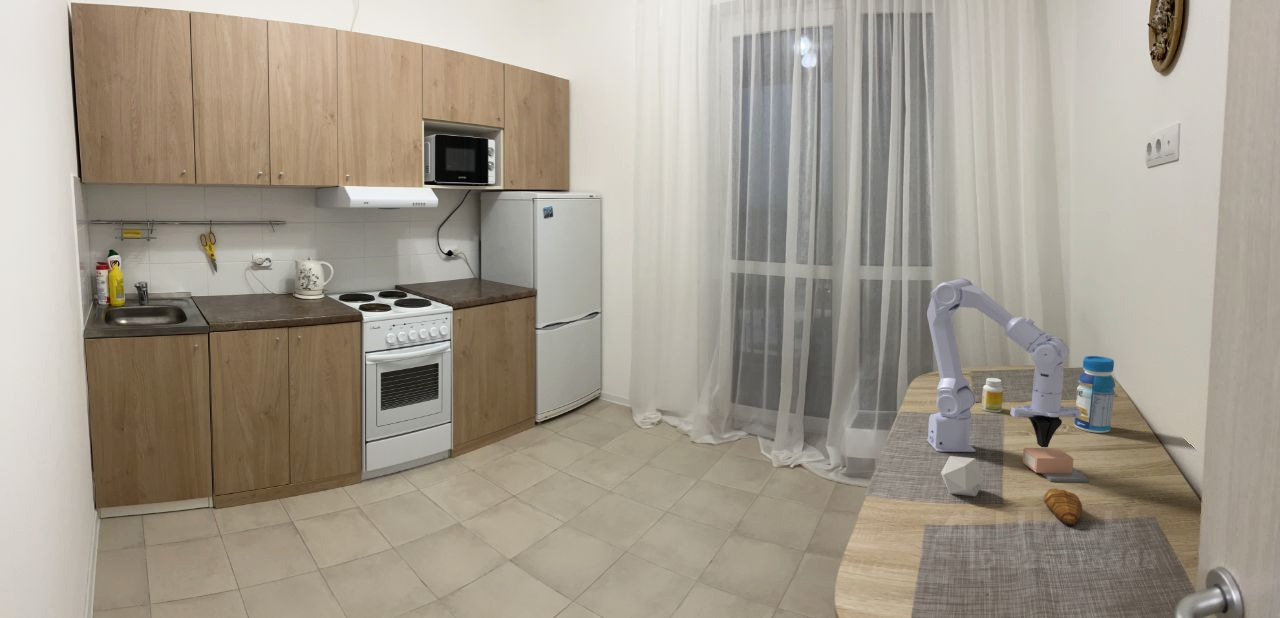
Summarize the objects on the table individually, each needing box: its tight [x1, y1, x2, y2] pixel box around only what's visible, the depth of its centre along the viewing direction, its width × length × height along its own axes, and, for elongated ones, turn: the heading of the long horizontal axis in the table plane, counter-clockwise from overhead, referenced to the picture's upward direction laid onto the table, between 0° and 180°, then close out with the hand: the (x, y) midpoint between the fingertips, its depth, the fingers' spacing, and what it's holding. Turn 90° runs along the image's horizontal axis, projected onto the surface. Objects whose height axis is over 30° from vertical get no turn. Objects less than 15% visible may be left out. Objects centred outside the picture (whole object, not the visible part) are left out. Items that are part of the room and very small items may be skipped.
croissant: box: [1043, 488, 1083, 527], centre depth 127 cm, size 14×7×5 cm, turn 159°
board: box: [1040, 467, 1089, 483], centre depth 146 cm, size 8×12×1 cm, turn 174°
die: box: [940, 455, 986, 497], centre depth 137 cm, size 8×9×10 cm
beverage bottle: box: [1073, 355, 1116, 434], centre depth 169 cm, size 8×8×20 cm
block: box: [1022, 447, 1075, 474], centre depth 146 cm, size 4×6×8 cm
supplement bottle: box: [981, 377, 1004, 413], centre depth 187 cm, size 5×5×10 cm
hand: (1042, 445), depth 145 cm, fingers closed
